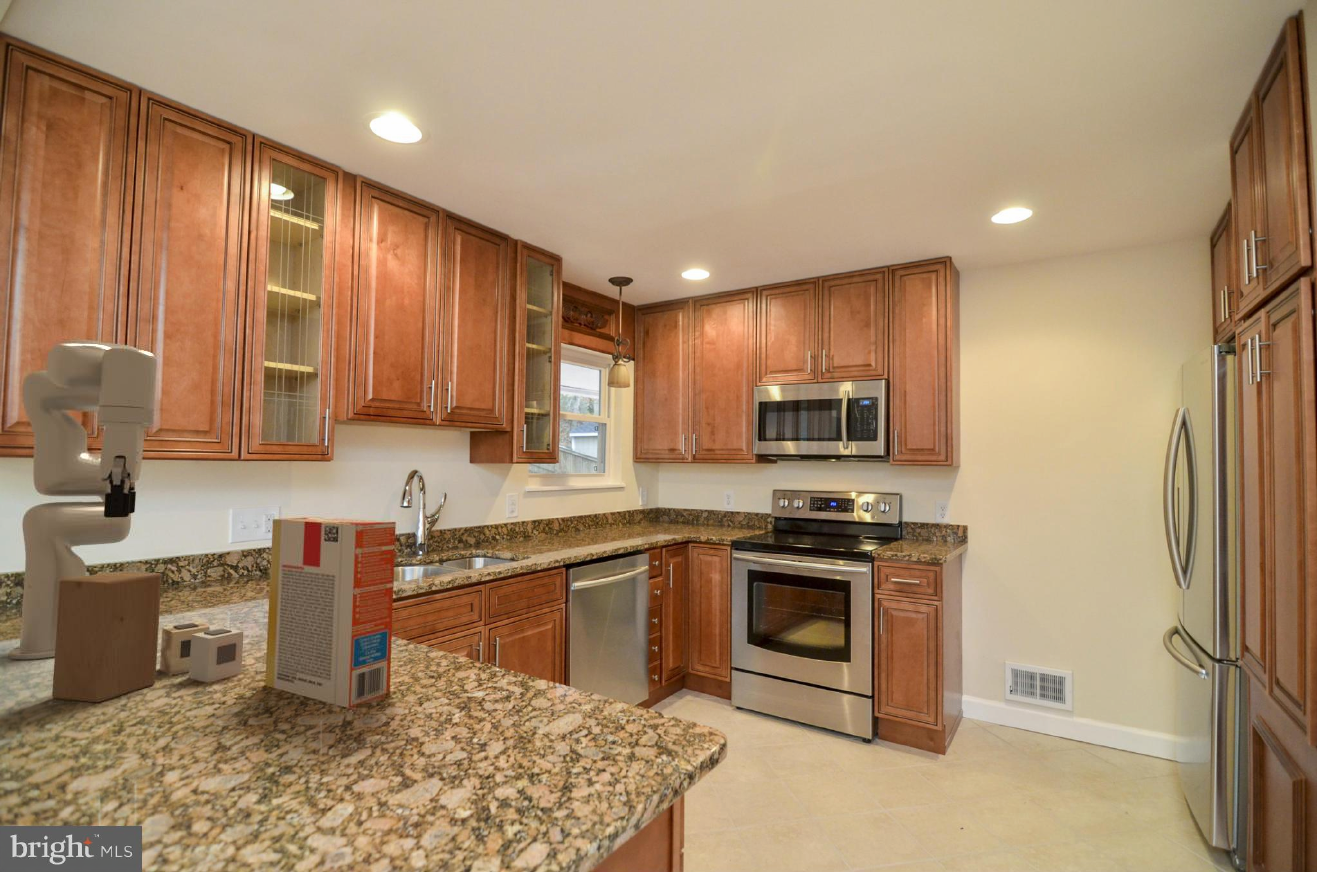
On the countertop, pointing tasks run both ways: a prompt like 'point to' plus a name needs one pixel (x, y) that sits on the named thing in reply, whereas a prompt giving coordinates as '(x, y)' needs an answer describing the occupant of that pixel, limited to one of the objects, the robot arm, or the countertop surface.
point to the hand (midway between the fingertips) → (119, 515)
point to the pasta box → (331, 608)
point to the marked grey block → (216, 654)
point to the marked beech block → (178, 646)
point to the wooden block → (106, 635)
